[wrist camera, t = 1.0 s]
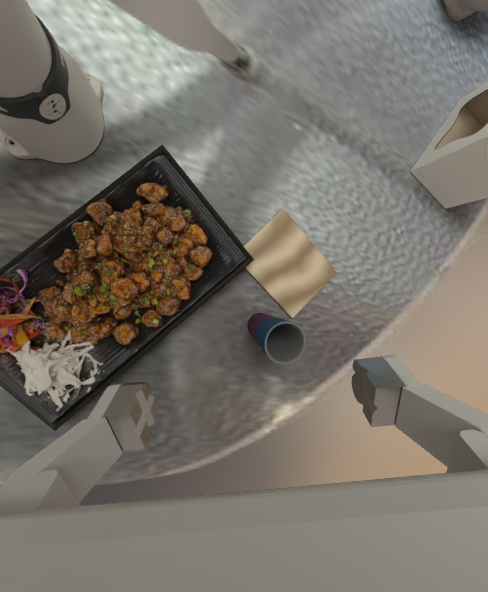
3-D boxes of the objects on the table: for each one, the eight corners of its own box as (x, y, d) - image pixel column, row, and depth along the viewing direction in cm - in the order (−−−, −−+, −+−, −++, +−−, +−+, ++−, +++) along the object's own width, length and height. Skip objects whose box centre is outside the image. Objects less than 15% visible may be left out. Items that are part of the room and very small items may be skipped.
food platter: (67, 417, 47) (33, 456, 37) (-47, 319, 43) (-121, 334, 32) (249, 260, 52) (263, 257, 42) (165, 155, 47) (157, 123, 37)
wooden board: (233, 256, 52) (234, 255, 51) (281, 209, 53) (282, 208, 52) (291, 317, 55) (292, 318, 55) (334, 272, 57) (336, 272, 56)
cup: (257, 302, 53) (283, 312, 39) (280, 322, 55) (314, 338, 40) (236, 327, 53) (255, 347, 38) (261, 347, 54) (287, 373, 40)
